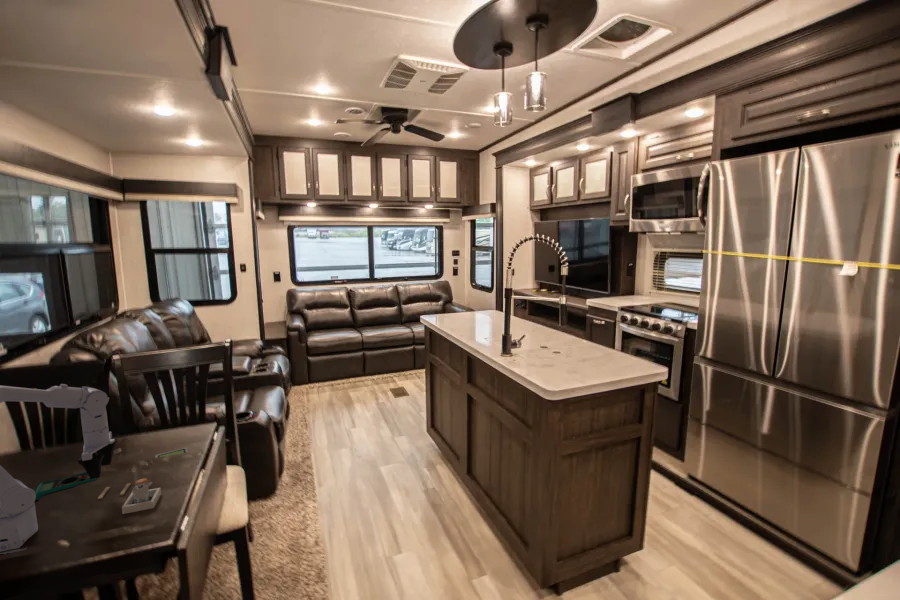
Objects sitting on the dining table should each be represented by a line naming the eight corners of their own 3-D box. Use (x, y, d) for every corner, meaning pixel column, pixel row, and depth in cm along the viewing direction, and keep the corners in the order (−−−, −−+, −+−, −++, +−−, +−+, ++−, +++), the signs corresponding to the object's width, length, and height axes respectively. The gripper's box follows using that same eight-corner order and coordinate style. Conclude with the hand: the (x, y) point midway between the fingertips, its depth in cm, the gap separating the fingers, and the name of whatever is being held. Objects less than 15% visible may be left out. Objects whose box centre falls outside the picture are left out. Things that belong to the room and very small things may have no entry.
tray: (154, 512, 118) (152, 501, 117) (123, 518, 115) (121, 507, 114) (161, 498, 124) (160, 487, 124) (132, 503, 122) (131, 492, 121)
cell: (145, 509, 118) (143, 488, 117) (131, 510, 117) (129, 489, 117) (152, 502, 121) (150, 481, 121) (139, 503, 121) (137, 482, 120)
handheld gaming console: (156, 472, 137) (154, 454, 149) (157, 476, 137) (155, 458, 149) (191, 462, 143) (187, 446, 155) (191, 466, 143) (187, 450, 155)
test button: (146, 488, 127) (145, 482, 126) (134, 490, 126) (133, 484, 125) (149, 483, 130) (148, 477, 129) (138, 485, 128) (137, 479, 128)
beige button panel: (150, 498, 124) (149, 492, 124) (93, 509, 119) (92, 503, 119) (160, 479, 134) (160, 474, 134) (108, 489, 129) (108, 483, 129)
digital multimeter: (98, 485, 132) (97, 476, 132) (34, 502, 123) (33, 493, 123) (100, 475, 138) (99, 467, 138) (39, 490, 129) (38, 482, 129)
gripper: (101, 436, 114) (107, 481, 116) (121, 416, 128) (126, 457, 130) (70, 440, 112) (76, 486, 114) (93, 420, 125) (98, 461, 127)
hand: (100, 471), depth 121 cm, fingers open, 7 cm apart
